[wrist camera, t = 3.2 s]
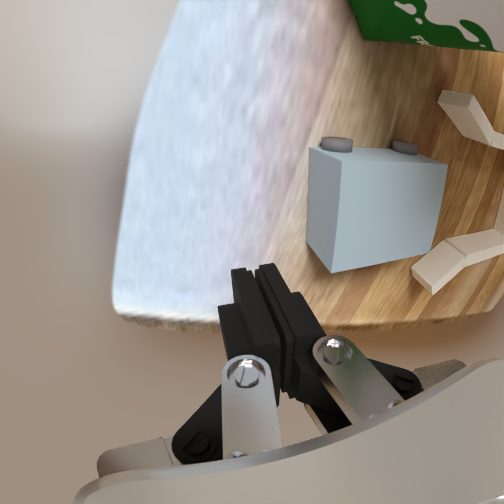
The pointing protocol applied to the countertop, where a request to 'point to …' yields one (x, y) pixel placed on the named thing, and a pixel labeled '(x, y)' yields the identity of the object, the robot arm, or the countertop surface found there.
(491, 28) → the milk carton
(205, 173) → the countertop surface
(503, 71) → the countertop surface
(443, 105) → the bay
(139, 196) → the countertop surface
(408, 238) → the grey boxy piece
